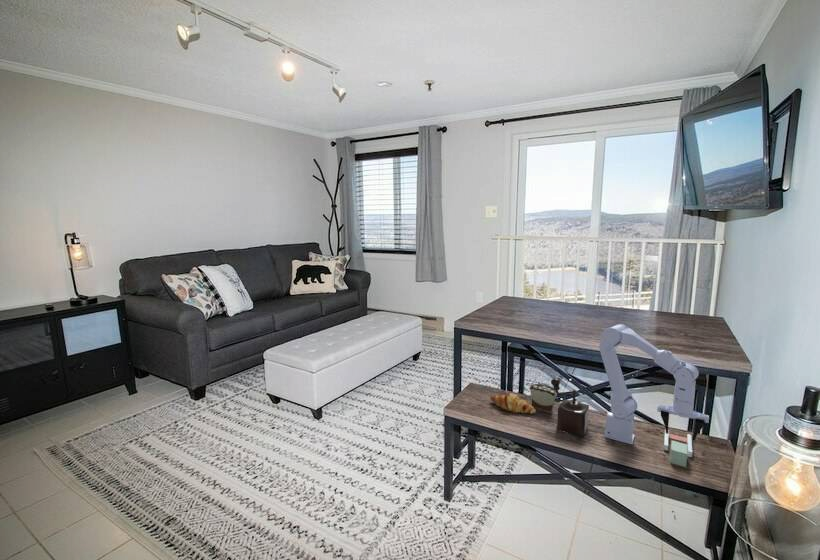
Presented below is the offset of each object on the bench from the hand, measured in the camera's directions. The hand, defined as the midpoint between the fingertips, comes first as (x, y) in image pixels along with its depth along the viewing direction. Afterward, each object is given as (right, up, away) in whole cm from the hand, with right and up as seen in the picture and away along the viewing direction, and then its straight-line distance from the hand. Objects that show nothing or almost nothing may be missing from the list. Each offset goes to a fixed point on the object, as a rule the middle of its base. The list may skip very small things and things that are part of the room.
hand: (680, 435), depth 135 cm
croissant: (-48, -4, +40) cm, 63 cm away
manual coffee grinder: (-30, -6, +24) cm, 39 cm away
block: (0, -9, +1) cm, 9 cm away
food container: (-34, -4, +41) cm, 53 cm away
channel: (+6, -8, +10) cm, 14 cm away
